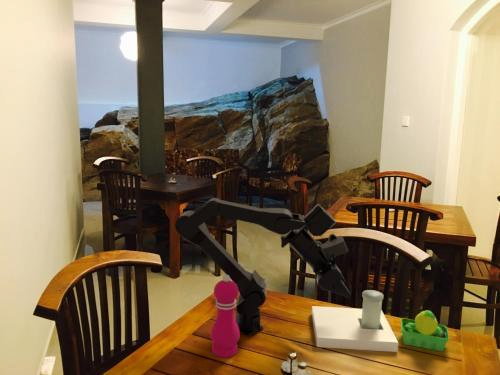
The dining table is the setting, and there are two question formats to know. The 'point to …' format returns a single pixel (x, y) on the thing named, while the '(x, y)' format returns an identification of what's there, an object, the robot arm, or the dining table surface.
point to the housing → (350, 330)
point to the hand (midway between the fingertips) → (346, 289)
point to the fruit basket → (424, 331)
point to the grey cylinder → (371, 309)
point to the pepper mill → (225, 319)
